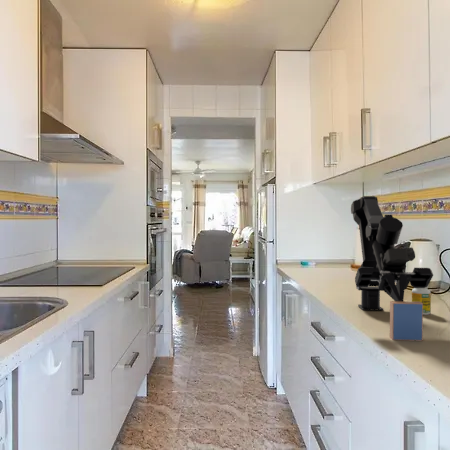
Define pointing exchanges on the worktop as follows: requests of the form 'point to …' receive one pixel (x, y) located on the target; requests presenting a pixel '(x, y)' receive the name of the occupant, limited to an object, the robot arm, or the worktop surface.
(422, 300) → the supplement bottle
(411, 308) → the block
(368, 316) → the worktop surface
